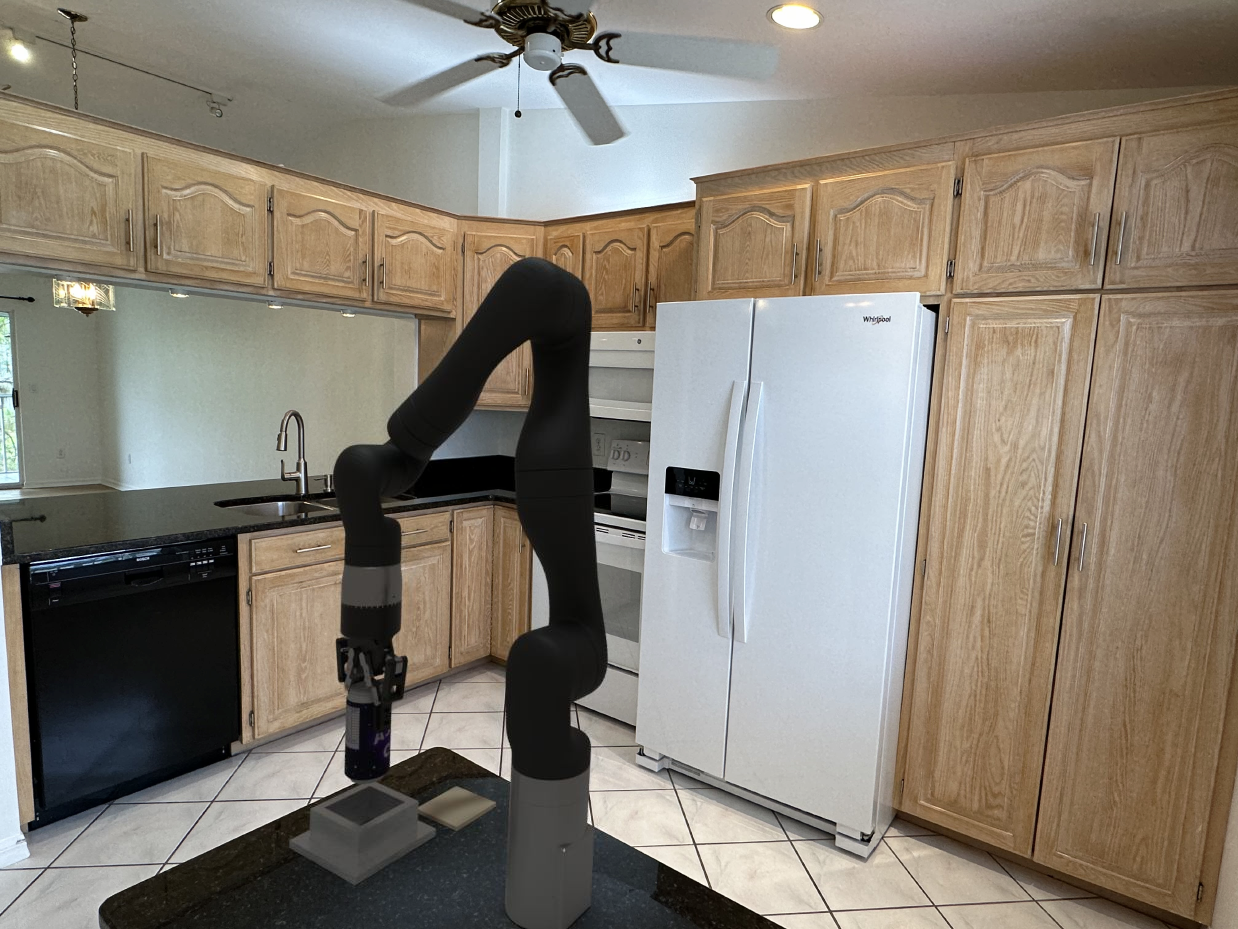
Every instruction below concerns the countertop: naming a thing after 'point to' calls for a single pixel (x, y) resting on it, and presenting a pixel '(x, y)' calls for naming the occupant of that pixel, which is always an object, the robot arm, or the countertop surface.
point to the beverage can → (364, 738)
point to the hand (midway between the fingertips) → (368, 723)
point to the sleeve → (362, 831)
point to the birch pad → (456, 808)
